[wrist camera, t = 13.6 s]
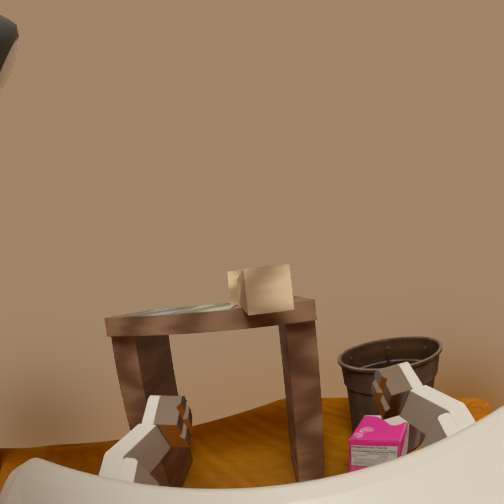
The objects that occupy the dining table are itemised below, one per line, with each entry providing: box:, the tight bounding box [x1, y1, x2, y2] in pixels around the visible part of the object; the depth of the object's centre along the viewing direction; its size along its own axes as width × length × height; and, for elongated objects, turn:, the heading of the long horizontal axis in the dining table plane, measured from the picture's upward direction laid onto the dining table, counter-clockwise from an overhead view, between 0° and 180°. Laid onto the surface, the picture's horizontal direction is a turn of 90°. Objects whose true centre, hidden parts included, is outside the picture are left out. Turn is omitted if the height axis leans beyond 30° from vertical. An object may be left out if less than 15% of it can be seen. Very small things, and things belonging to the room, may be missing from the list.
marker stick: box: [227, 264, 294, 315], centre depth 29 cm, size 5×21×4 cm, turn 4°
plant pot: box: [338, 337, 442, 453], centre depth 36 cm, size 16×16×16 cm
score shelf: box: [105, 296, 324, 488], centre depth 33 cm, size 22×14×26 cm, turn 89°
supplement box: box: [349, 415, 409, 472], centre depth 23 cm, size 6×6×12 cm
